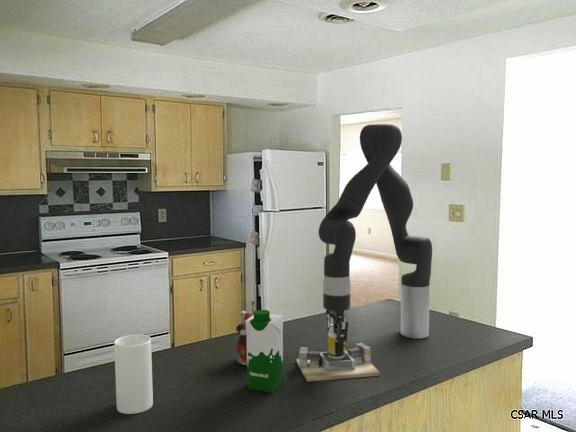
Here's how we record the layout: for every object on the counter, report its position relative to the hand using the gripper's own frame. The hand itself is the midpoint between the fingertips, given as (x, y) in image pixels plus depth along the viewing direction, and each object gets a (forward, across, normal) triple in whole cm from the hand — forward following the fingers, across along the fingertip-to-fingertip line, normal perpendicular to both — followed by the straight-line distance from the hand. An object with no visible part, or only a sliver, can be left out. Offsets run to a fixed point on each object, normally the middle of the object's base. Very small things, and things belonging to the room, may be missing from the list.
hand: (336, 351), depth 140 cm
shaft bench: (+5, 0, 0) cm, 5 cm away
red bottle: (+5, +10, +22) cm, 25 cm away
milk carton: (+5, -7, +21) cm, 23 cm away
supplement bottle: (+2, 0, 0) cm, 2 cm away
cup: (+5, -12, +53) cm, 55 cm away
